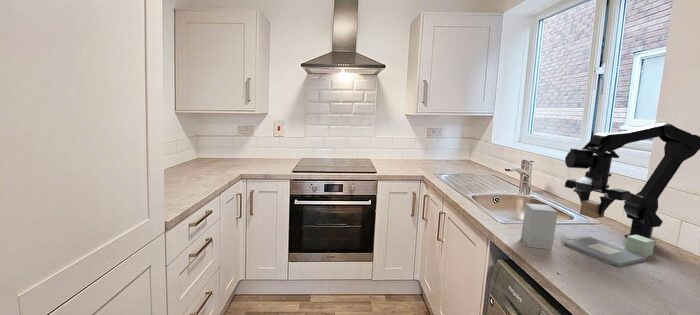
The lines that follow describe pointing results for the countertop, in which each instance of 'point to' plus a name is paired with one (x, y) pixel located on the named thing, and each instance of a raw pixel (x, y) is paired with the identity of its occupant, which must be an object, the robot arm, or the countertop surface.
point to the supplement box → (539, 226)
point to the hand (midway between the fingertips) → (591, 212)
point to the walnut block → (590, 209)
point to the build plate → (605, 251)
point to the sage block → (640, 245)
